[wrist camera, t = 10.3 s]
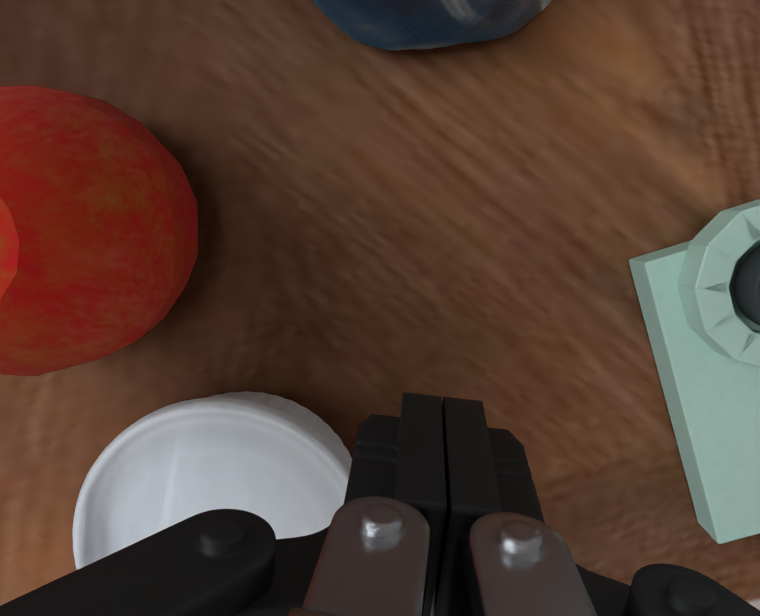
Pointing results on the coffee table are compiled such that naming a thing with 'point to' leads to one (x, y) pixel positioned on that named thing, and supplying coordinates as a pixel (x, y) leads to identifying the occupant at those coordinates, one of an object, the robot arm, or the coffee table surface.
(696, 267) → the scale
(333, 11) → the seashell
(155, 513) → the ramekin
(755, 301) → the button
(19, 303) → the apple
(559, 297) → the coffee table surface
